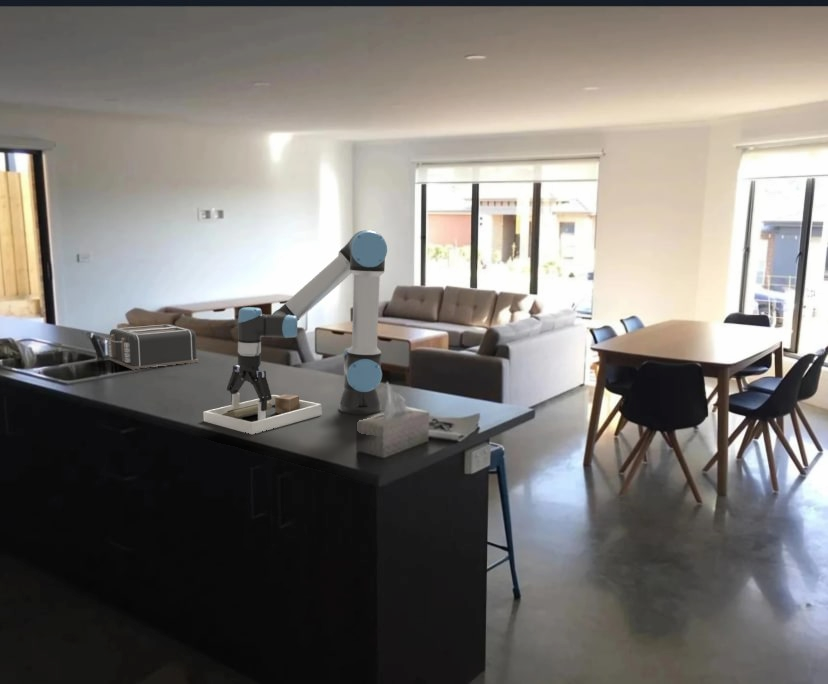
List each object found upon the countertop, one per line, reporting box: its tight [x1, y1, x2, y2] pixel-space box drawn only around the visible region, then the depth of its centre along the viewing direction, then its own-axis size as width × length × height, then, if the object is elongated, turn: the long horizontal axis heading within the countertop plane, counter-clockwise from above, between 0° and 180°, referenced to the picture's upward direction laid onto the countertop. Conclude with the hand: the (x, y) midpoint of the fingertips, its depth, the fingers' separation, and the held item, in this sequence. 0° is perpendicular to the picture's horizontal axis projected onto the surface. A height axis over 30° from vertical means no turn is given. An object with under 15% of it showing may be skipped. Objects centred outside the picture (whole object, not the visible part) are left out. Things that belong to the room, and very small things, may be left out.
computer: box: [222, 402, 273, 419], centre depth 250 cm, size 16×8×3 cm, turn 140°
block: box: [274, 393, 300, 415], centre depth 260 cm, size 6×6×6 cm
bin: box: [202, 394, 323, 435], centre depth 252 cm, size 24×32×4 cm
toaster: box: [105, 324, 199, 371], centre depth 348 cm, size 30×36×17 cm
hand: (248, 416), depth 248 cm, fingers open, 12 cm apart
